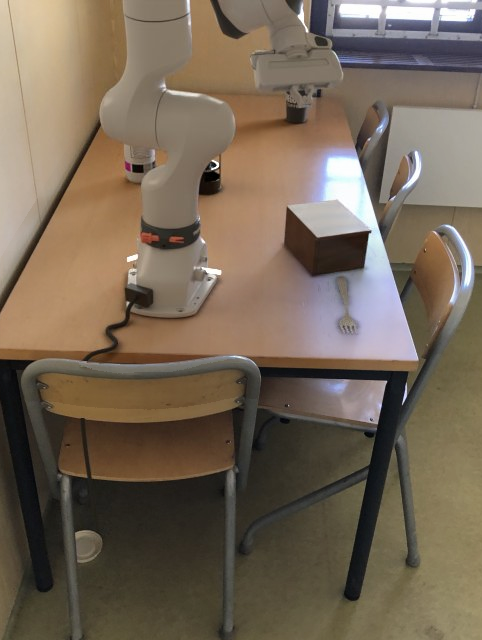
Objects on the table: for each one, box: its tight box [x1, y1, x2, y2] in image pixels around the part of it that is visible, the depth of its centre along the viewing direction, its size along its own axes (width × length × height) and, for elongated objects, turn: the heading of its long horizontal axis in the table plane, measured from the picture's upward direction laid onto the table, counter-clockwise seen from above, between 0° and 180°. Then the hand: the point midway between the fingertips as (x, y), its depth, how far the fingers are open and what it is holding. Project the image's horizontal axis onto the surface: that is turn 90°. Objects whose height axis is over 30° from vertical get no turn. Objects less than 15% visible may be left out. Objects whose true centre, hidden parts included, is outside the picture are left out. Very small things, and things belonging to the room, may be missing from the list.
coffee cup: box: [285, 90, 308, 124], centre depth 236 cm, size 10×10×15 cm
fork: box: [336, 276, 358, 336], centre depth 141 cm, size 3×24×2 cm, turn 178°
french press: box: [198, 154, 222, 195], centre depth 183 cm, size 12×9×23 cm
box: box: [283, 209, 370, 277], centre depth 157 cm, size 16×13×9 cm
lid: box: [286, 199, 372, 241], centre depth 154 cm, size 17×13×1 cm
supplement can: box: [123, 144, 157, 184], centre depth 188 cm, size 8×8×15 cm
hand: (306, 106), depth 154 cm, fingers closed
